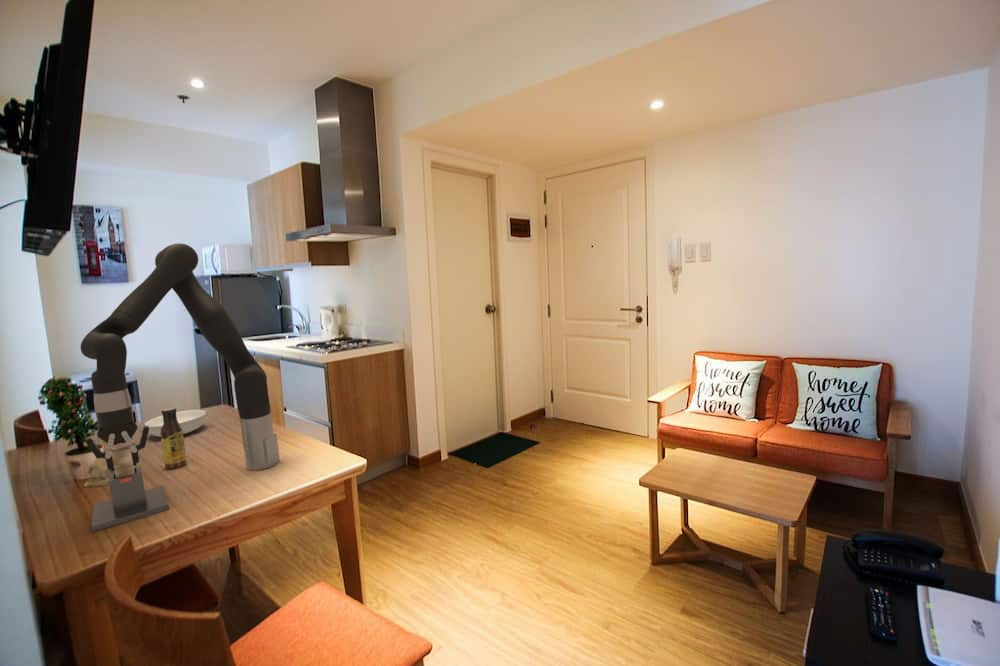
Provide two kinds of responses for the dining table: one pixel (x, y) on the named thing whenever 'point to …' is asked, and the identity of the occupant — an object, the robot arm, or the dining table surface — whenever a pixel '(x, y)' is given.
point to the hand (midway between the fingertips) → (124, 467)
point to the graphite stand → (128, 501)
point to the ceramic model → (99, 473)
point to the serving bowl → (179, 421)
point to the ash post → (123, 461)
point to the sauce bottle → (172, 440)
